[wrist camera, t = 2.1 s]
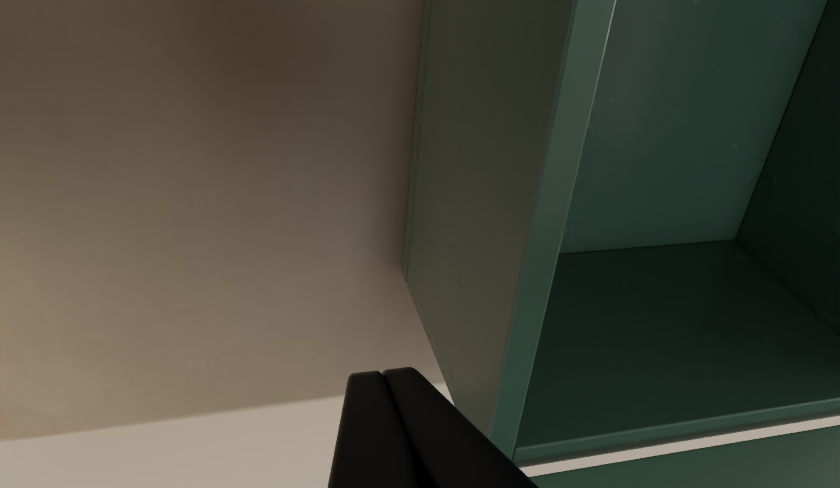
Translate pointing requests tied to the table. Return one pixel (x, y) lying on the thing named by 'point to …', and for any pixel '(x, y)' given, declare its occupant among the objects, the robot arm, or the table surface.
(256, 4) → the table surface
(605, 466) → the bin lid
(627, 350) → the bin
